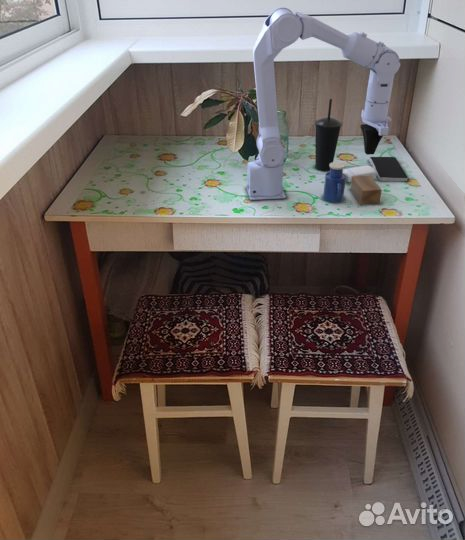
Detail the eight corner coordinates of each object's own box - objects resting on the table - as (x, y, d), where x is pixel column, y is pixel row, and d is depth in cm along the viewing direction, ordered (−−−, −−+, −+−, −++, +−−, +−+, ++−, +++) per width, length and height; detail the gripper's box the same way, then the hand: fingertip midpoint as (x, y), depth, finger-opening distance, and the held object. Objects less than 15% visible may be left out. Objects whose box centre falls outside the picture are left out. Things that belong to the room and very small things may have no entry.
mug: (334, 214, 130) (313, 188, 126) (327, 202, 136) (306, 177, 131) (365, 191, 128) (344, 164, 123) (356, 180, 133) (336, 154, 128)
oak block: (360, 205, 130) (362, 190, 127) (350, 189, 137) (352, 176, 135) (379, 204, 130) (381, 189, 128) (368, 189, 137) (370, 175, 135)
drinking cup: (329, 175, 145) (336, 105, 134) (305, 168, 149) (311, 100, 137) (341, 166, 150) (349, 98, 139) (318, 160, 154) (325, 93, 142)
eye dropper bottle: (369, 159, 142) (332, 165, 138) (378, 174, 139) (340, 181, 136) (363, 169, 146) (327, 175, 142) (372, 184, 143) (335, 191, 140)
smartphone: (379, 177, 141) (369, 156, 153) (379, 181, 142) (368, 160, 154) (408, 177, 141) (395, 156, 153) (408, 181, 141) (394, 160, 154)
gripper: (404, 108, 118) (394, 163, 125) (383, 91, 129) (375, 142, 137) (375, 109, 117) (366, 164, 125) (356, 92, 129) (349, 143, 137)
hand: (369, 153), depth 131 cm, fingers closed
